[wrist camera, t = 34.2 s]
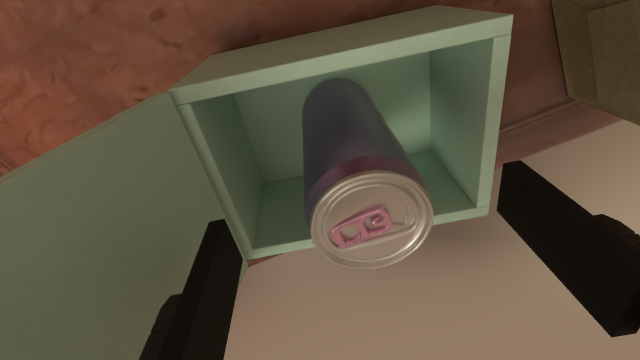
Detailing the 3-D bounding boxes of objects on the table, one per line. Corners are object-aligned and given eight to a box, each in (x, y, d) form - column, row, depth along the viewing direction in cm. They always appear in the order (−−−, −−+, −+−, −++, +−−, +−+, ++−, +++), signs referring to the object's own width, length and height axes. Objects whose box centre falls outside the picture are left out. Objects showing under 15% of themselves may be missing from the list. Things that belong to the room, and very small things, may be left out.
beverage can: (289, 97, 26) (280, 206, 13) (355, 63, 24) (416, 145, 12) (320, 154, 28) (338, 288, 16) (381, 126, 27) (452, 246, 15)
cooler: (437, 4, 23) (514, 14, 15) (435, 152, 30) (488, 215, 22) (211, 54, 24) (165, 90, 16) (259, 187, 31) (244, 260, 23)
